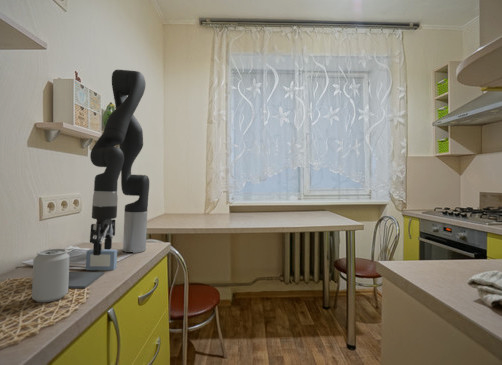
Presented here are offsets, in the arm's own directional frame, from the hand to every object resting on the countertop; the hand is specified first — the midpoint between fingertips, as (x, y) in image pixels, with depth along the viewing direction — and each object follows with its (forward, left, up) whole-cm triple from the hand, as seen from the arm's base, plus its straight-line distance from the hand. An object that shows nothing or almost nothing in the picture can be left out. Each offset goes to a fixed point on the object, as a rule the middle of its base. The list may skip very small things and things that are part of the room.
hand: (102, 252), depth 91 cm
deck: (-1, 0, -6) cm, 6 cm away
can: (+22, -3, -6) cm, 23 cm away
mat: (+10, -4, -6) cm, 13 cm away
